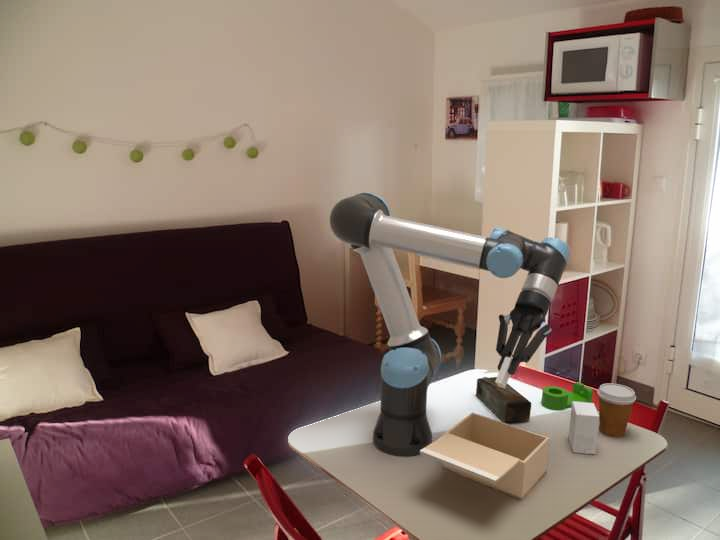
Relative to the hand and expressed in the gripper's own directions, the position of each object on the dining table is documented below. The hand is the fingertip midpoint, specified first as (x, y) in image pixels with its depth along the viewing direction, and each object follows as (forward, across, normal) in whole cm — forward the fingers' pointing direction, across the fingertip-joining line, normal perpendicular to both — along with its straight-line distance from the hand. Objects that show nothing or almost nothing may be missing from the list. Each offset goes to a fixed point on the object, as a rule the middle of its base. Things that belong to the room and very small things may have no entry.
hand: (499, 385), depth 136 cm
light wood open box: (+15, +1, -17) cm, 23 cm away
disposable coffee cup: (-10, -14, -45) cm, 48 cm away
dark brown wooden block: (-5, +15, -40) cm, 43 cm away
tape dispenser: (-16, +2, -51) cm, 54 cm away
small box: (-1, -11, -35) cm, 37 cm away
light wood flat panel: (+14, +1, -5) cm, 15 cm away
